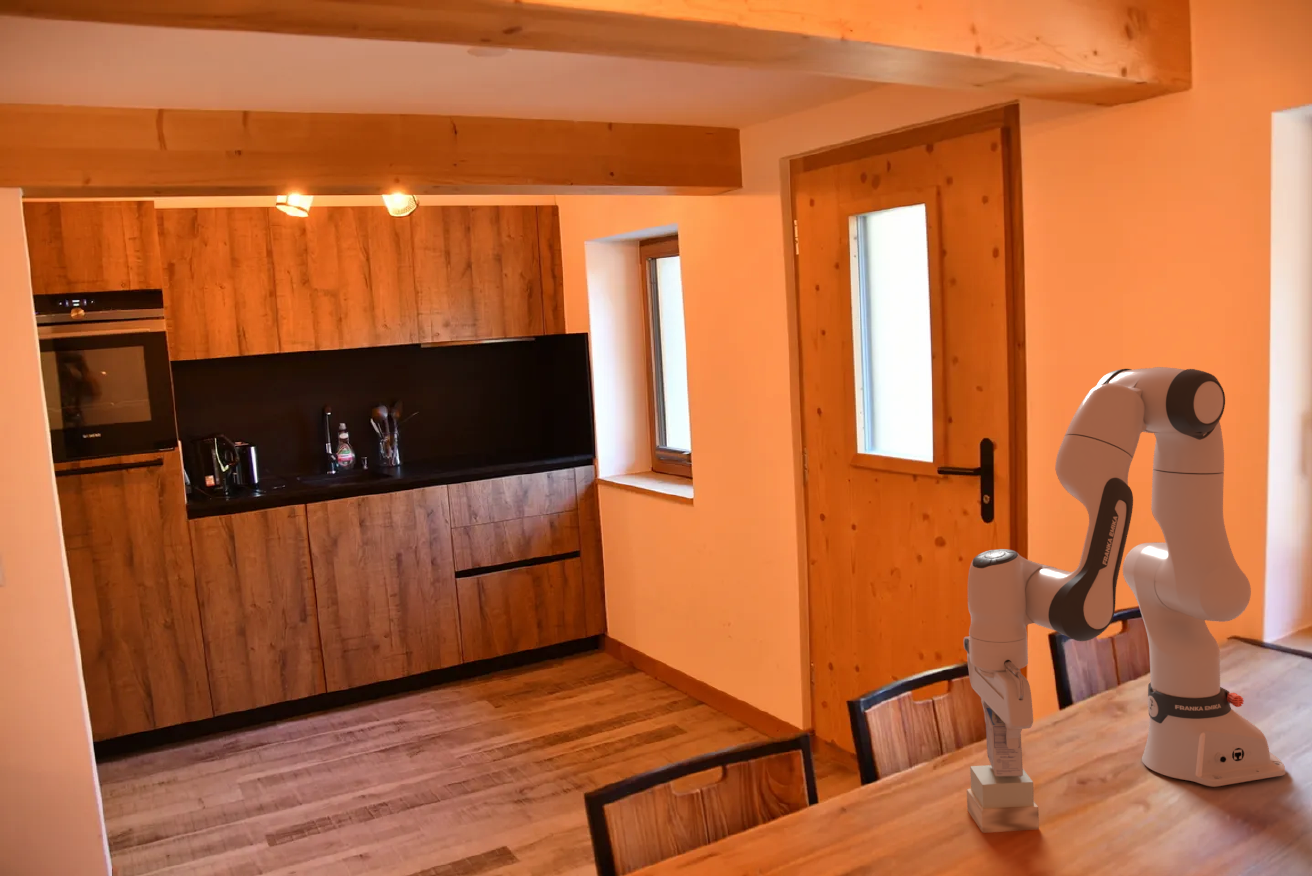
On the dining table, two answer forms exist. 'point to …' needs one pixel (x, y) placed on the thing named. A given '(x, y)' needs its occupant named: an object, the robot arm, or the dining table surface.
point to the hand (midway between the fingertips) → (1001, 735)
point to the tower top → (1000, 788)
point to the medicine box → (1001, 748)
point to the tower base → (1002, 816)
